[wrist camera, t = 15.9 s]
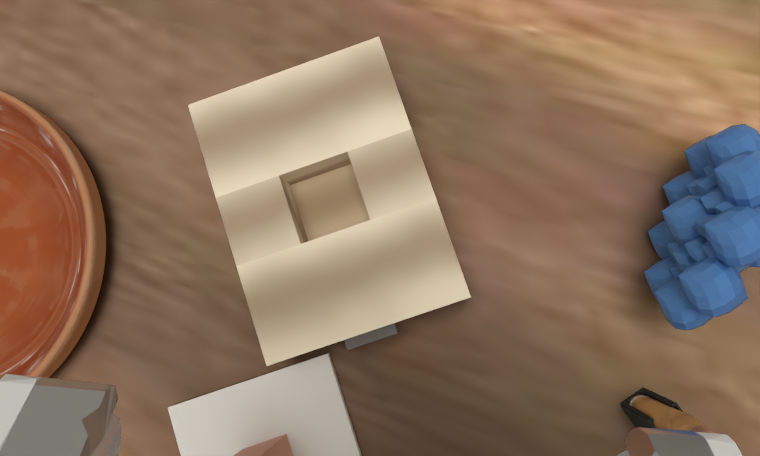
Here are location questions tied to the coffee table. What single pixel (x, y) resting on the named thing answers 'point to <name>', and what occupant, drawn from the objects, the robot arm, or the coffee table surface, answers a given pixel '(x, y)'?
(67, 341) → the saucer
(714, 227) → the grapes
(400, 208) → the cream block with hole
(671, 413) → the ammunition clip
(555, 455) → the coffee table surface
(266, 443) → the wooden block
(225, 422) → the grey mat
